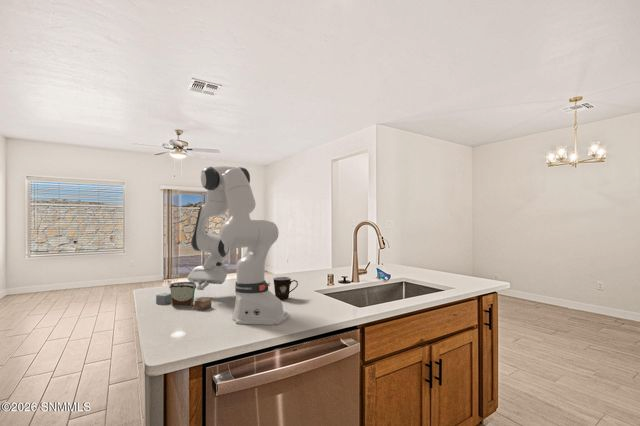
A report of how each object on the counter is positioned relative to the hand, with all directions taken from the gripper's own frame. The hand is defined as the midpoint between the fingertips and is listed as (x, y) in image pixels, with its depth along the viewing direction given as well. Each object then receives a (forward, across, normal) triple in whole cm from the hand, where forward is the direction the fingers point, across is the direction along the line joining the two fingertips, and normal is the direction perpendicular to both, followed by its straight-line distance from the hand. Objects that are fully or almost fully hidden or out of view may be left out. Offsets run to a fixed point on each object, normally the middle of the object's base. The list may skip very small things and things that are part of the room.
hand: (199, 289), depth 150 cm
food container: (+10, 0, -3) cm, 11 cm away
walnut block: (+12, +12, -5) cm, 18 cm away
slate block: (+10, -12, -3) cm, 16 cm away
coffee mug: (-6, +40, +13) cm, 42 cm away
